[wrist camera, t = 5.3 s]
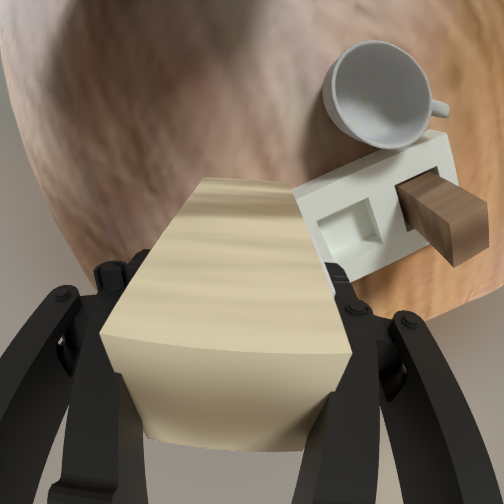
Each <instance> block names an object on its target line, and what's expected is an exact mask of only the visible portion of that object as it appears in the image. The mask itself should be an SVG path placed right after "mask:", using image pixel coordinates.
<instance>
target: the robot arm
mask: <svg viewBox="0 0 504 504" xmlns="http://www.w3.org/2000/svg"><path fill="white" fill-rule="evenodd" d="M303 219H304V218H303ZM304 221H305V224H306V226H307V229H308V231H309V234H310V236H311V239H312V241H313V244H314V246H315V249H316V251H317V254H318V257H319V259H320V262H321V264H322V267H323V270H324V272H325V275H326V278H327V281H328V283H329V286H330V289H331V292H332V294H333V297H334V300H335V303H336V306H337V309H338V311H339V314H340V317H341V320H342V323H343V326H344V329H345V332H346V335H347V338H348V341H349V344H350V347H351V351H352V355H351V357H350V359H349V362H348V364H347V366H346V368H345V371H344V373H343V375H342V377H341V379H340V381H339V383H338V386H337V388H336V390H335V391H331V392H330V394H329V396H328V398H327V400H326V402H325V404H324V406H323V408H322V410H321V412H320V414H319V415H318V417H317V419H316V421H315V423H314V425H313V426H312V428H311V430H310V432H309V433H308V435H307V439H306V444H305V449H304V454H303V458H302V463H301V467H300V471H299V476H298V480H297V484H296V488H295V492H294V496H293V499H292V503H291V504H375V501H376V491H377V480H378V465H379V442H380V407H381V411H382V414H383V418H384V421H385V425H386V429H387V432H388V436H389V440H390V444H391V448H392V452H393V456H394V460H395V464H396V469H397V474H398V478H399V482H400V487H401V493H402V498H403V503H404V504H503V501H502V497H501V493H500V490H499V486H498V483H497V480H496V476H495V473H494V470H493V467H492V464H491V461H490V458H489V455H488V452H487V450H486V447H485V444H484V442H483V439H482V436H481V434H480V431H479V429H478V427H477V424H476V422H475V419H474V417H473V415H472V413H471V410H470V408H469V406H468V404H467V401H466V399H465V397H464V395H463V393H462V391H461V389H460V387H459V385H458V383H457V381H456V379H455V377H454V375H453V373H452V371H451V369H450V367H449V365H448V363H447V361H446V359H445V358H444V356H443V354H442V352H441V350H440V348H439V347H438V345H437V343H436V342H435V339H434V338H433V336H432V334H431V332H430V331H429V329H428V327H427V326H426V324H425V322H424V321H423V320H422V319H421V317H419V316H418V315H417V314H415V313H413V312H410V311H405V310H402V311H398V312H396V313H395V314H394V317H393V319H392V320H391V319H387V318H383V317H379V316H376V315H373V311H372V309H371V307H370V306H369V305H368V304H367V303H365V302H363V301H361V300H358V298H357V296H356V294H355V291H354V289H353V287H352V285H351V283H350V281H349V279H348V277H347V274H346V272H345V270H344V269H343V268H342V267H341V266H340V265H339V264H337V263H330V262H324V261H323V258H322V256H321V253H320V251H319V248H318V246H317V244H316V241H315V239H314V236H313V234H312V231H311V229H310V227H309V224H308V222H307V220H306V219H304ZM150 251H151V250H149V249H143V250H141V251H140V252H138V253H137V254H135V256H134V257H133V258H132V260H131V262H130V263H129V264H127V263H125V262H122V261H108V262H105V263H102V264H100V265H99V266H97V267H96V268H95V269H94V271H93V272H94V276H95V281H96V285H97V289H98V293H97V294H96V295H87V296H80V295H79V291H78V289H77V288H76V287H75V286H72V285H63V286H59V287H57V288H55V289H53V290H52V291H51V292H50V293H49V294H48V295H47V297H46V298H45V299H44V300H43V301H42V303H41V304H40V305H39V306H38V308H37V309H36V310H35V311H34V313H33V314H32V315H31V316H30V318H29V319H28V320H27V321H26V323H25V324H24V325H23V327H22V328H21V330H20V331H19V332H18V334H17V335H16V336H15V338H14V339H13V340H12V342H11V343H10V345H9V346H8V348H7V349H6V350H5V352H4V353H3V355H2V356H1V358H0V504H33V501H34V498H35V494H36V491H37V488H38V485H39V482H40V478H41V475H42V472H43V469H44V466H45V464H46V460H47V458H48V455H49V452H50V450H51V447H52V444H53V442H54V439H55V436H56V434H57V432H58V429H59V427H60V424H61V422H62V419H63V417H64V415H65V412H66V410H67V408H68V405H69V409H68V415H67V422H66V430H65V437H64V446H63V458H62V472H61V478H60V479H59V481H57V482H56V483H54V484H52V485H51V487H50V489H49V492H48V498H47V504H148V497H147V489H146V478H145V465H144V449H143V422H142V420H141V417H140V415H139V413H138V411H137V409H136V407H135V405H134V402H133V400H132V398H131V396H130V393H129V391H128V389H127V386H126V384H125V381H124V379H123V376H122V374H121V373H117V372H114V370H113V367H112V365H111V362H110V360H109V357H108V355H107V352H106V350H105V347H104V345H103V342H102V339H101V336H100V334H99V333H100V331H101V329H102V327H103V326H104V324H105V322H106V321H107V319H108V317H109V315H110V314H111V312H112V310H113V309H114V307H115V305H116V304H117V302H118V301H119V299H120V297H121V296H122V294H123V292H124V291H125V289H126V288H127V286H128V284H129V283H130V281H131V280H132V278H133V277H134V275H135V274H136V272H137V270H138V269H139V267H140V266H141V264H142V263H143V261H144V260H145V258H146V257H147V255H148V254H149V252H150ZM61 337H62V339H63V341H62V342H61V344H60V345H59V344H58V341H59V340H60V338H61ZM404 366H405V368H404ZM405 369H406V370H405Z"/></svg>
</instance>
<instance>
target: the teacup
mask: <svg viewBox="0 0 504 504" xmlns="http://www.w3.org/2000/svg"><path fill="white" fill-rule="evenodd" d="M322 93H323V101H324V105H325V108H326V111H327V113H328V115H329V116H330V118H331V120H332V121H333V122H334V124H335V125H336V126H337V127H338V128H339V129H340V130H341V131H343V132H344V133H345V134H347V135H348V136H350V137H352V138H354V139H356V140H358V141H361V142H364V143H367V144H369V145H371V146H374V147H377V148H381V149H389V150H390V149H399V148H404V147H406V146H409V145H411V144H412V143H414V142H415V141H417V140H418V139H419V138H420V137H421V136H422V134H423V133H424V132H425V130H426V128H427V126H428V124H429V121H430V117H431V116H435V117H441V118H447V117H448V116H449V112H450V109H449V106H448V105H447V104H446V103H443V102H440V101H436V100H432V94H431V89H430V86H429V82H428V80H427V77H426V75H425V73H424V72H423V70H422V68H421V67H420V66H419V64H418V63H417V62H416V61H415V60H414V59H413V58H412V57H411V56H410V55H409V54H408V53H406V52H405V51H403V50H402V49H400V48H399V47H397V46H395V45H392V44H390V43H387V42H383V41H364V42H360V43H357V44H355V45H353V46H351V47H349V48H348V49H347V50H345V51H344V52H343V54H342V55H341V56H340V57H339V58H338V59H337V60H336V61H335V62H334V63H333V64H332V66H331V67H330V68H329V70H328V72H327V74H326V76H325V79H324V82H323V89H322Z"/></svg>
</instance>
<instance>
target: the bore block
mask: <svg viewBox="0 0 504 504" xmlns="http://www.w3.org/2000/svg"><path fill="white" fill-rule="evenodd" d="M427 170H428V171H430V172H432V173H434V174H436V175H438V176H440V177H442V178H444V179H446V180H448V181H450V182H451V183H453V184H455V185H457V186H459V185H458V180H457V175H456V170H455V165H454V161H453V156H452V152H451V148H450V144H449V140H448V137H447V133H443V132H439V131H435V130H431V129H429V130H426V131H425V132H424V133H423V134H422V136H421V137H420V138H419V139H418V140H417V141H415V142H414V143H412V144H411V145H409V146H406V147H404V148H399V149H390V150H389V149H380V150H378V151H375V152H373V153H371V154H368V155H366V156H364V157H362V158H359V159H357V160H355V161H352V162H350V163H348V164H346V165H343V166H341V167H339V168H337V169H335V170H332V171H330V172H328V173H326V174H324V175H321V176H319V177H317V178H315V179H313V180H310V181H308V182H306V183H304V184H302V185H300V186H298V187H295V188H293V189H291V190H292V192H293V195H294V197H295V199H296V202H297V204H298V207H299V209H300V211H301V214H302V216H303V218H304V219H306V220H307V222H308V224H309V227H310V229H311V231H312V234H313V236H314V239H315V241H316V244H317V246H318V248H319V251H320V253H321V256H322V258H323V261H324V262H330V263H337V264H339V265H340V266H341V267H342V268H343V269H344V270H345V272H346V274H347V277H348V279H349V281H350V282H352V281H355V280H357V279H359V278H361V277H363V276H366V275H368V274H370V273H372V272H374V271H376V270H378V269H381V268H383V267H385V266H387V265H389V264H391V263H393V262H395V261H397V260H399V259H401V258H403V257H405V256H407V255H409V254H411V253H413V252H415V251H417V250H419V249H421V248H423V247H425V246H427V245H429V244H430V243H429V242H428V241H427V240H426V239H425V238H424V237H423V236H422V235H421V234H420V233H419V232H418V231H417V230H416V229H414V228H413V227H412V226H411V225H410V224H409V223H408V222H407V221H406V220H405V219H404V218H403V214H402V211H401V207H400V203H399V200H398V196H397V193H396V190H395V186H394V185H396V184H398V183H400V182H403V181H405V180H407V179H409V178H411V177H413V176H416V175H418V174H420V173H422V172H424V171H427Z"/></svg>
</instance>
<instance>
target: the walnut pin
mask: <svg viewBox="0 0 504 504" xmlns="http://www.w3.org/2000/svg"><path fill="white" fill-rule="evenodd" d="M394 186H395V190H396V193H397V196H398V200H399V203H400V207H401V211H402V214H403V218H404V219H405V220H406V221H407V222H408V223H409V224H410V225H411V226H412V227H413V228H414V229H416V230H417V231H418V232H419V233H420V234H421V235H422V236H423V237H424V238H425V239H426V240H427V241H428V242H429V243H430V244H431V245H432V246H433V247H434V248H435V249H436V250H437V251H438V252H439V253H440V254H441V255H442V256H443V257H444V258H445V259H446V260H447V261H448V262H449V263H450V264H451V265H452V266H453V267H454V268H455V267H456V266H458V265H460V264H462V263H463V262H465V261H467V260H468V259H470V258H472V257H473V256H475V255H477V254H478V253H480V252H482V251H483V250H485V249H486V248H488V247H489V225H488V210H487V203H486V202H485V201H483V200H481V199H480V198H478V197H476V196H475V195H473V194H471V193H470V192H468V191H466V190H464V189H462V188H461V187H459V186H457V185H455V184H453V183H451V182H450V181H448V180H446V179H444V178H442V177H440V176H438V175H436V174H434V173H432V172H430V171H428V170H427V171H424V172H422V173H420V174H418V175H416V176H413V177H411V178H409V179H407V180H405V181H403V182H400V183H398V184H396V185H394Z"/></svg>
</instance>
